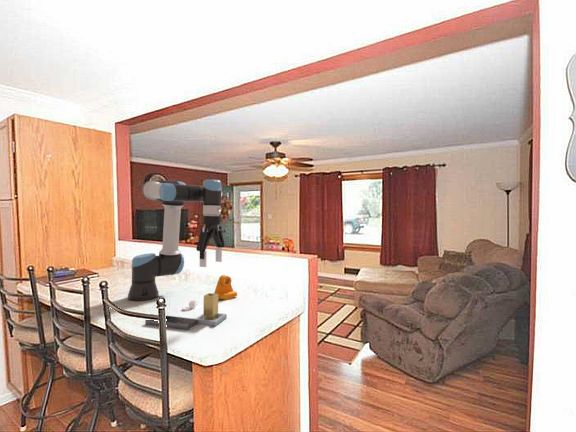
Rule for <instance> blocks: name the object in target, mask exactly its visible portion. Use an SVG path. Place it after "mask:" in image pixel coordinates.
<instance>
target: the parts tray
mask: <svg viewBox="0 0 576 432" xmlns="http://www.w3.org/2000/svg"><path fill="white" fill-rule="evenodd" d="M203 316H204V313H202V314H200V315H199V316H197V317H195V318H194V319H198V324H197V325H199V324H200V325H206V326H207V325H208V326H210V327H217V326H219V325H220V324H221V323H222V322H224V321H225V320H226V319H227V313H219V312H218V319H216V320H215V321H213V320H204V319H203Z"/></svg>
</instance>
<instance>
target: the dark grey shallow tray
mask: <svg viewBox="0 0 576 432" xmlns="http://www.w3.org/2000/svg"><path fill="white" fill-rule="evenodd" d="M166 319H167V321H166V325H167V328H166V329H174V330H175V329H176V330H184V331H189V330H191V329H192V328H194V327H196V326H197V325H199V324H198V319H195V318H193V317H192V318H191V317H181V316H176V315H175V316H174V315H166ZM144 321H145V322H144V325H146V326H152V327H158V326H159V323H158V321H154V320H146V319H145V320H144Z"/></svg>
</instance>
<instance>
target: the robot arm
mask: <svg viewBox="0 0 576 432" xmlns="http://www.w3.org/2000/svg"><path fill="white" fill-rule="evenodd" d="M222 190H223V189H222V182H221V180H219V179H204V180H203V185H196V184H187V183H185V182H183V181H178V180H163V179H152V180H148V181H145V183H143V184H142V187H141V193H142V195H143V197H144V198H146V199H148V200H149V201H150V200H151V201H154V202H161V205H162V206H163V207H164V211H163V212H164V214H163V231H162V247H161V250H159V252H158V255H156V253H154V252H152V253H151V252H150V253H143V254H139V255H135V256H134V257H133V258H132V259H131V260H132V261H131V285H130V287H129V291H128V293H127V299H128V300H129V301H132V302H134V301H135V302H141V301H150V300H153V299H156V298H158V297H159V290H158V287H157V284H156V277H164V276H173V275H174V276H175V275H178V274H180V273H181V272H183V270H184V265H185V257H184V255H183V254H182V252H181V251H180V249H179V247H180V245H179V244H180V243H179V242H180V229H181V228H180V227H181V212H182V208H184V206H185V203H187V202H190V203H202V215H203V216H202V225H205V226H202V227H200V233H199V234H200V235H199V237H198V240H197V244H196V248H195V249H196V251H197V252H199V268H200V267H201V268H206V267H207V254H208V253H207V252H208V251H207V247H208V245H209V243H210V241H211V239H213V241H214V243H215V245H216V247H215V262H217V263H221V262H223V261H222V257H223V248H225V245H226V244H225V240H224V236H223V231H222V224H221V222H222V219H221V216H220V215H221V213H222V212H221V211H222V205H221V204H222Z"/></svg>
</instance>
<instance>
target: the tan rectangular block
mask: <svg viewBox="0 0 576 432" xmlns="http://www.w3.org/2000/svg"><path fill="white" fill-rule="evenodd" d="M218 313H219V299H218V294H215V293H214V292H212V293H211V292H208V293H206V294H204V295H203V314H204V316H203V319H204V320H213V321H215V320H216V319H218Z"/></svg>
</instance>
